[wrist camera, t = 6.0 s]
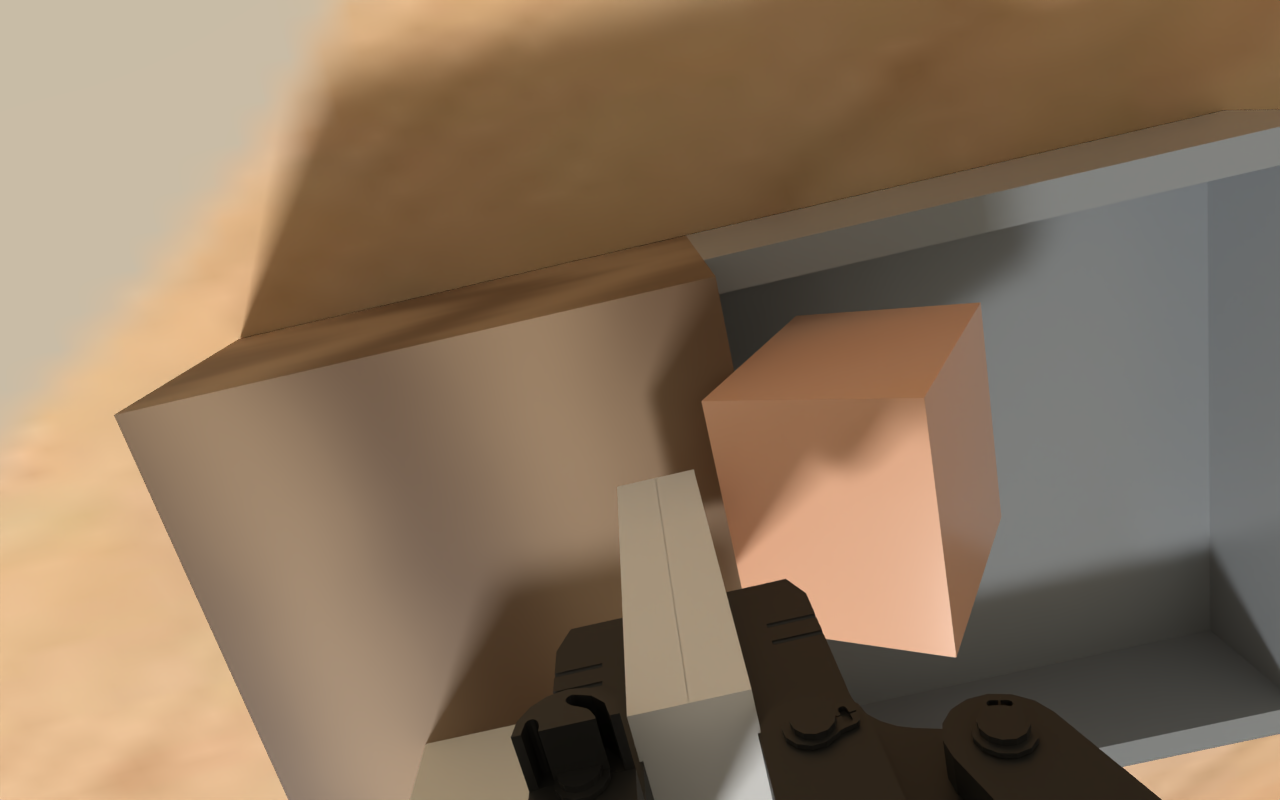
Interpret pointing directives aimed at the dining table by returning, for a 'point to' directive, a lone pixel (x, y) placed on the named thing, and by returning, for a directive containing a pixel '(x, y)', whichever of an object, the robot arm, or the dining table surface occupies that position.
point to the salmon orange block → (865, 470)
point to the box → (1084, 418)
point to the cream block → (471, 769)
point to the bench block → (429, 498)
